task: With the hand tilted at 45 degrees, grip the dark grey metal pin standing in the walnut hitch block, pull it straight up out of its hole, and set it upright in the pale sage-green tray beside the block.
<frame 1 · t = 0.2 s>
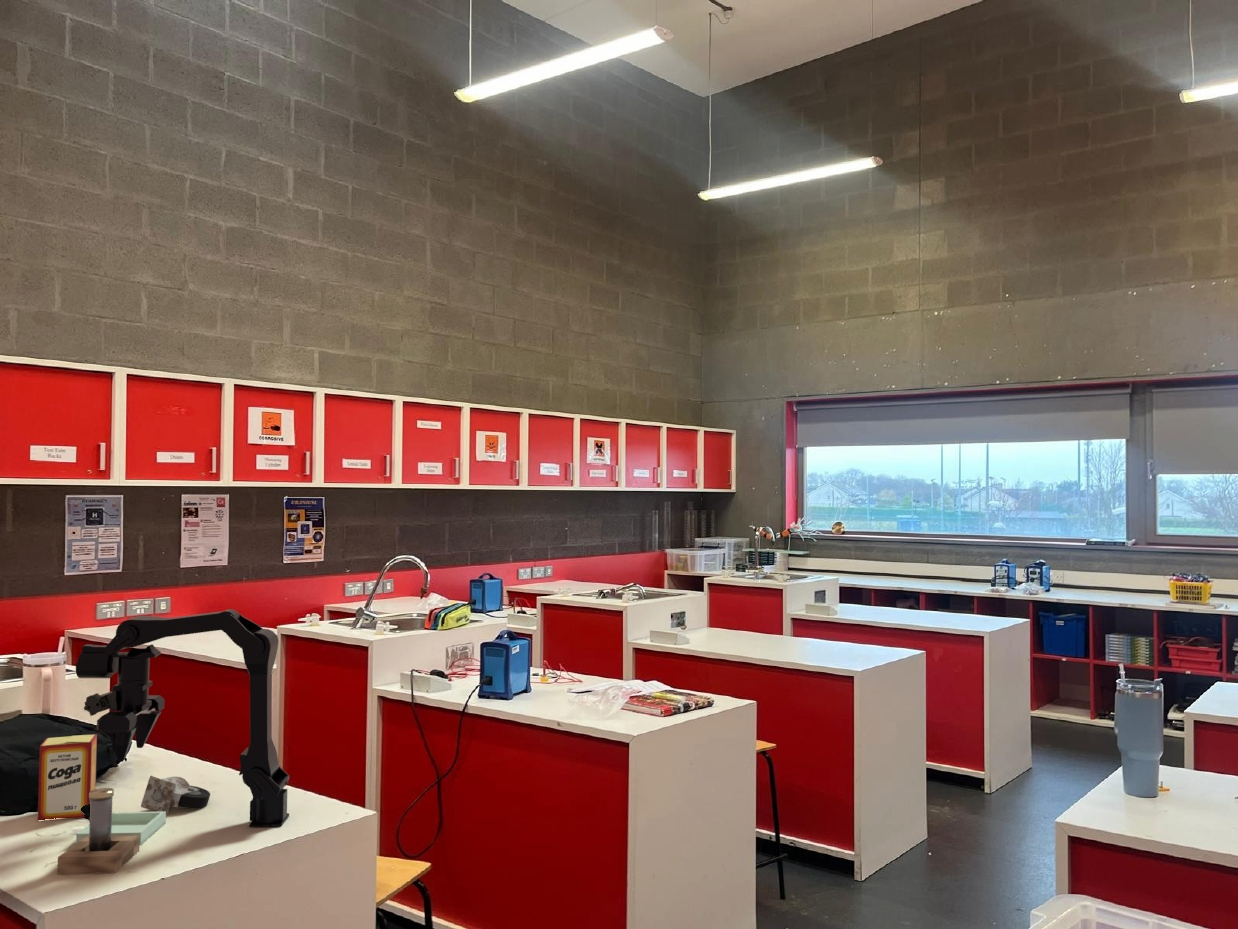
hand: (130, 754, 191), 15 cm above the counter, tool pointing down, fingers open, 9 cm apart
baking soda box: (66, 815, 197), on the counter
tray: (122, 835, 185), on the counter
caster wheel: (179, 808, 202), on the counter
pin: (100, 826, 172), in the hitch block
hitch block: (99, 862, 171), on the counter
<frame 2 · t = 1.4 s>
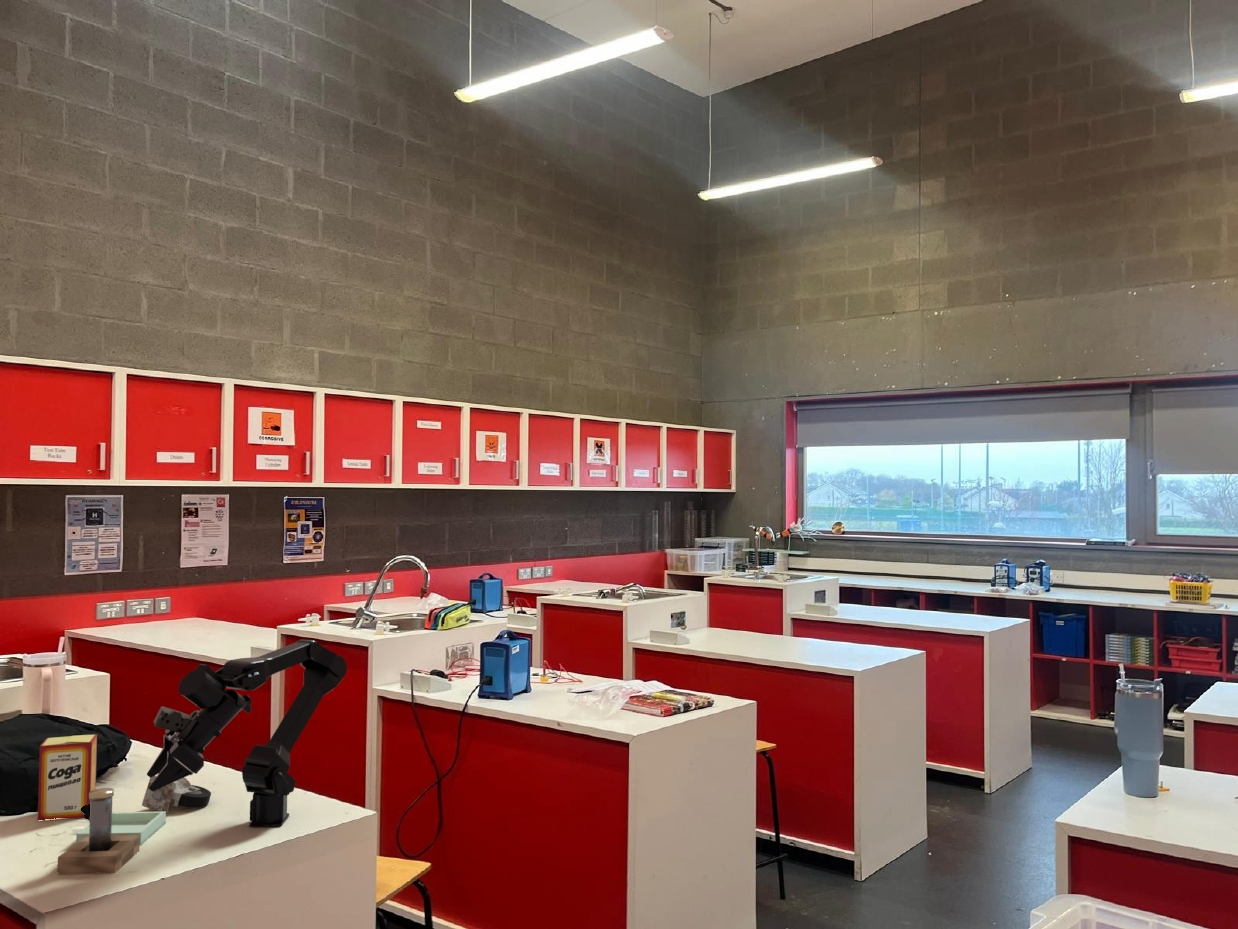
hand: (149, 783, 176), 13 cm above the counter, tool tilted 45°, fingers open, 9 cm apart
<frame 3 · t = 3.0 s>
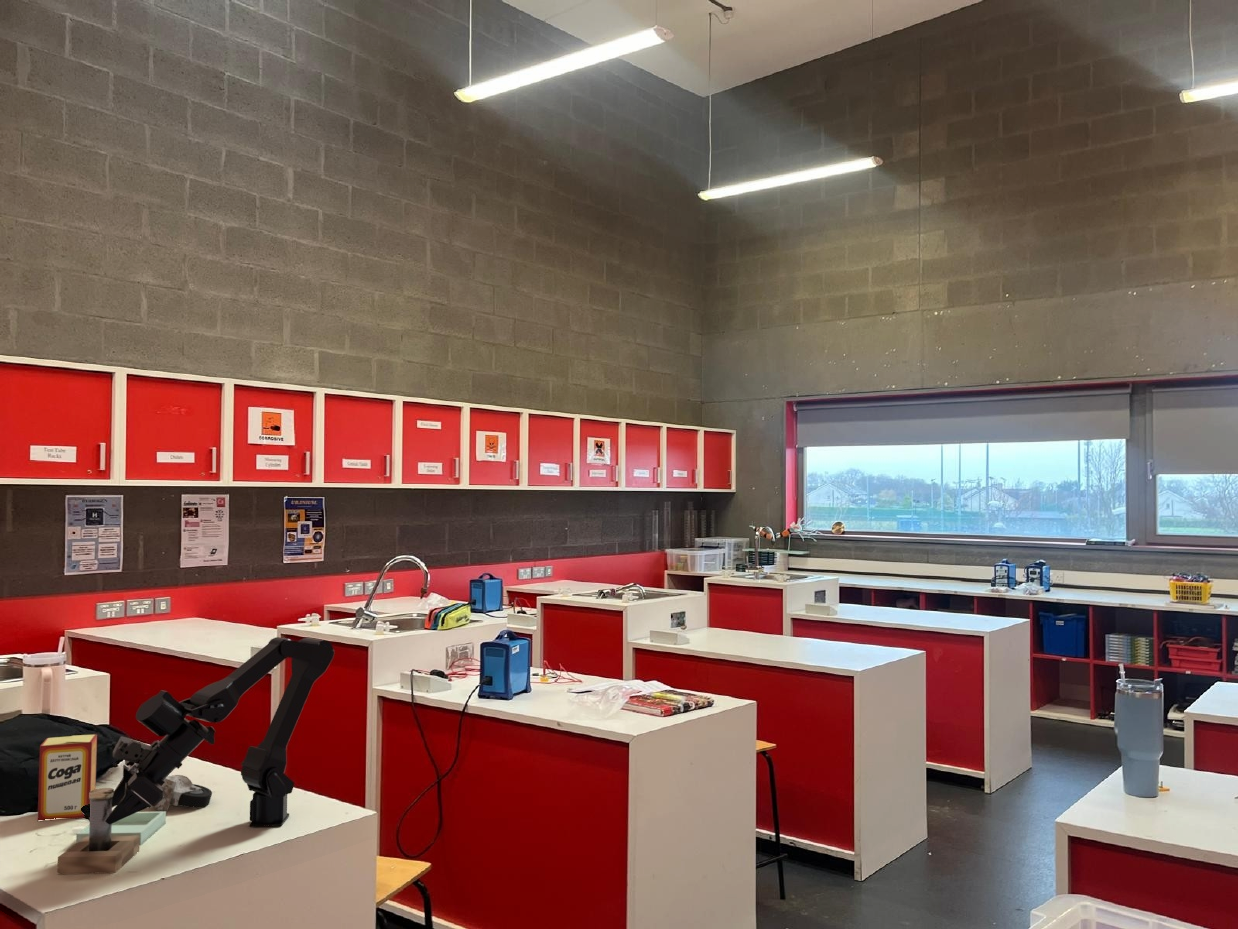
hand: (106, 815, 172), 9 cm above the counter, tool tilted 45°, fingers open, 9 cm apart
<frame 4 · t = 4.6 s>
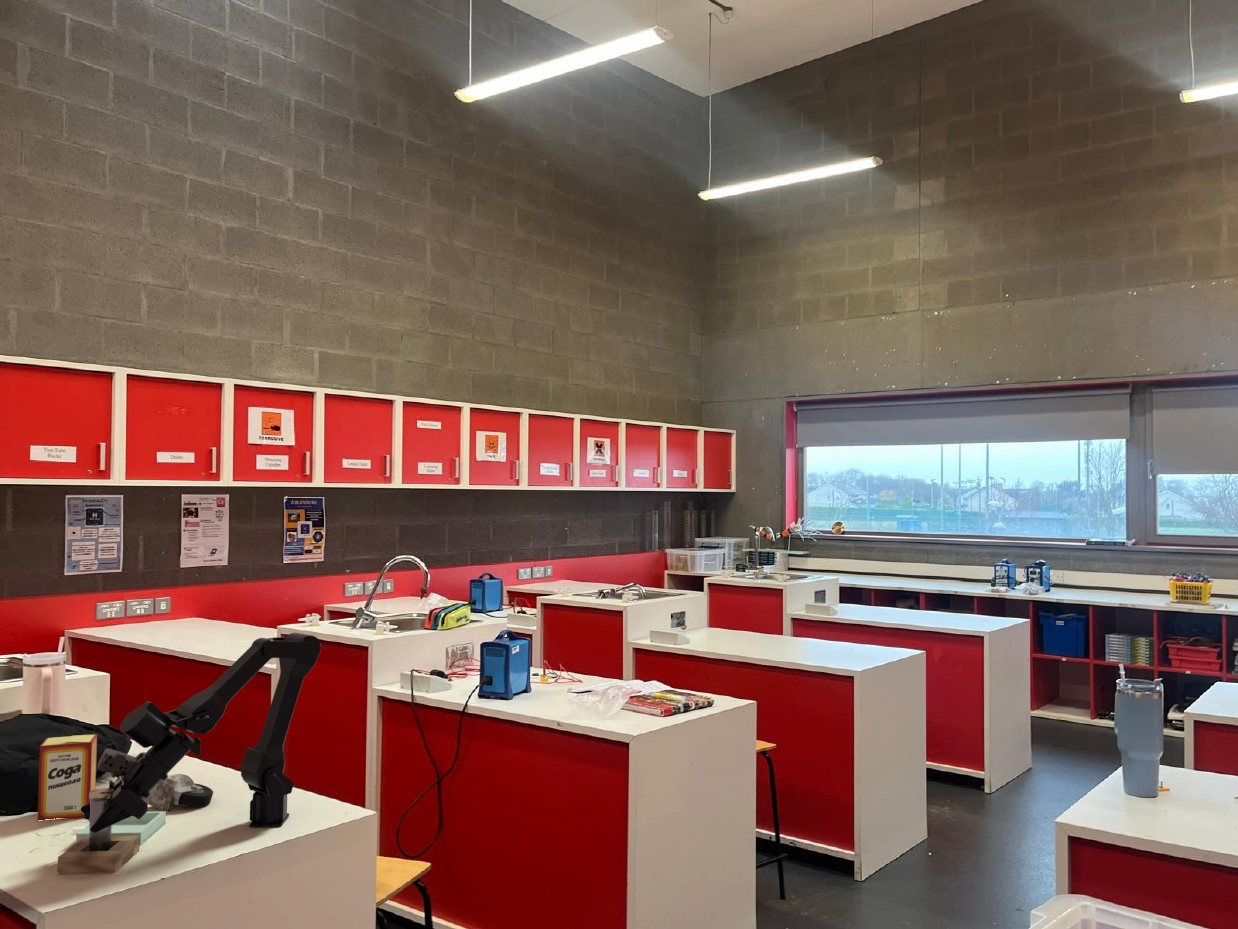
hand: (91, 828, 171), 7 cm above the counter, tool tilted 45°, fingers closed on pin, 4 cm apart
pin: (100, 826, 172), in the hitch block, touching gripper
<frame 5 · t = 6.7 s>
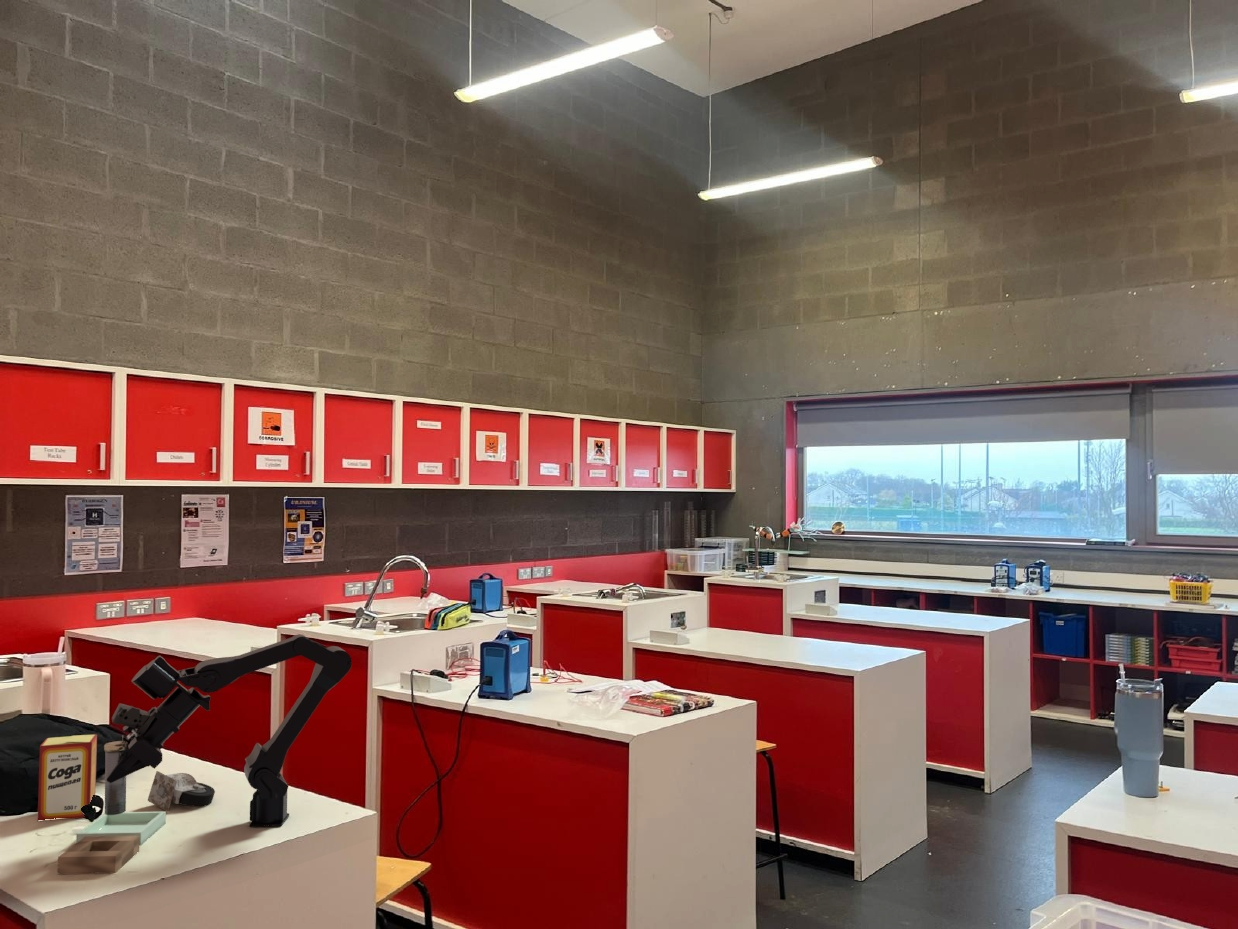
hand: (107, 778, 179), 13 cm above the counter, tool tilted 45°, fingers closed on pin, 4 cm apart
pin: (115, 777, 180), point 13 cm above the counter, touching gripper
when the fingers open (8 cm above the counter, at t = 9.1 s): pin stays where it is, resting on tray.
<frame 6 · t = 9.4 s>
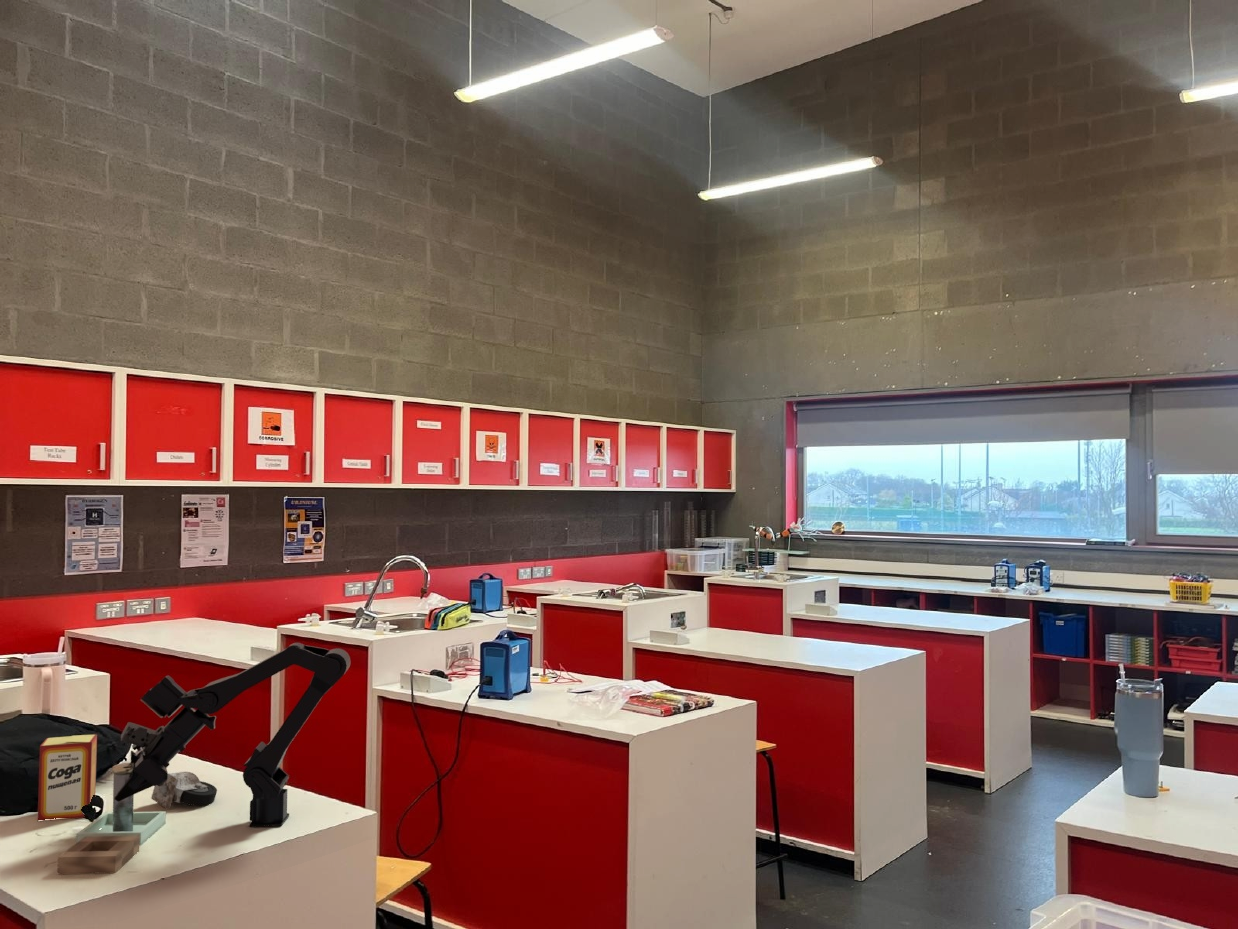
hand: (115, 795, 185), 8 cm above the counter, tool tilted 45°, fingers open, 6 cm apart
pin: (123, 798, 185), in the tray, point 7 cm above the counter
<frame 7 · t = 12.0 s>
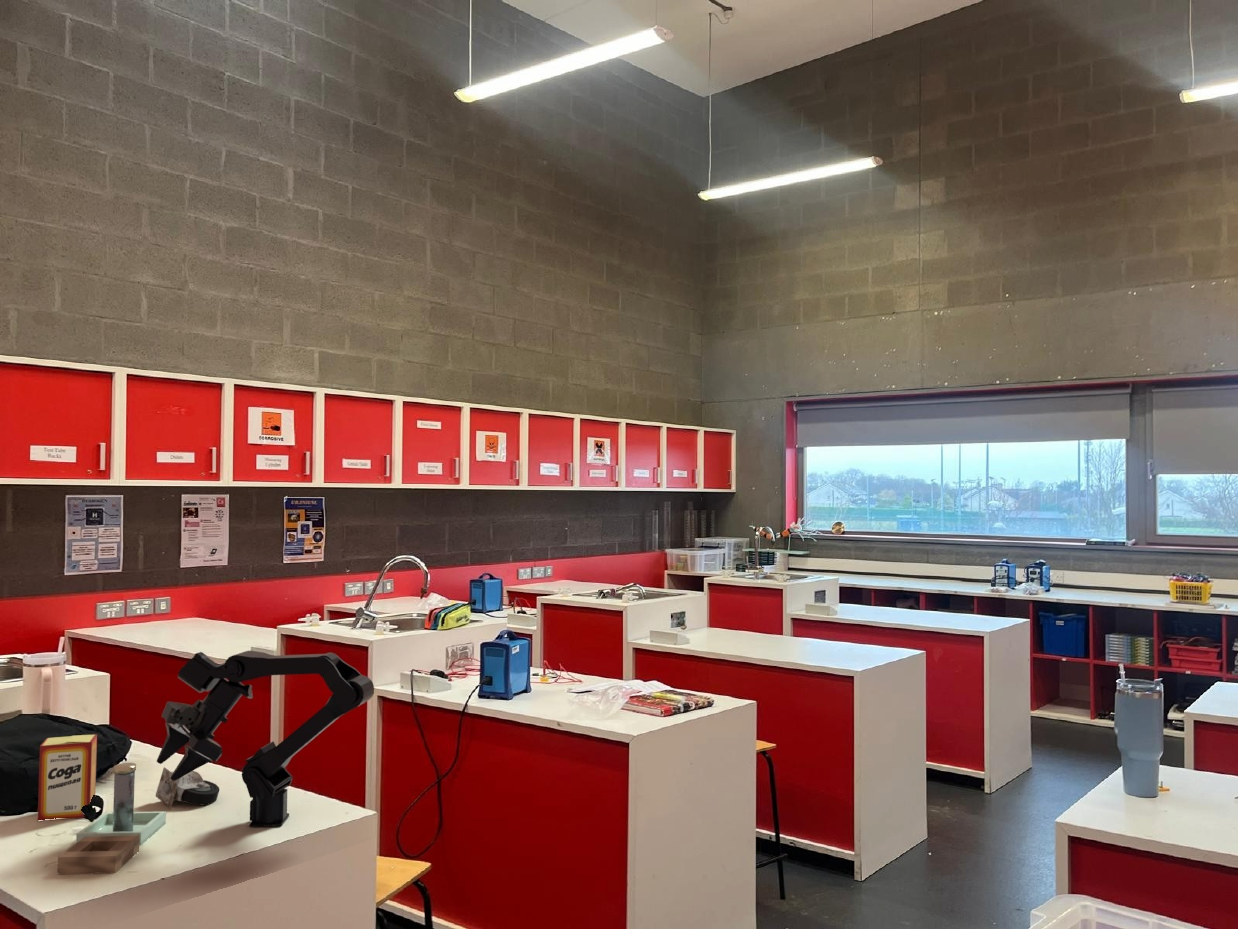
hand: (165, 771, 189), 12 cm above the counter, tool tilted 40°, fingers open, 9 cm apart
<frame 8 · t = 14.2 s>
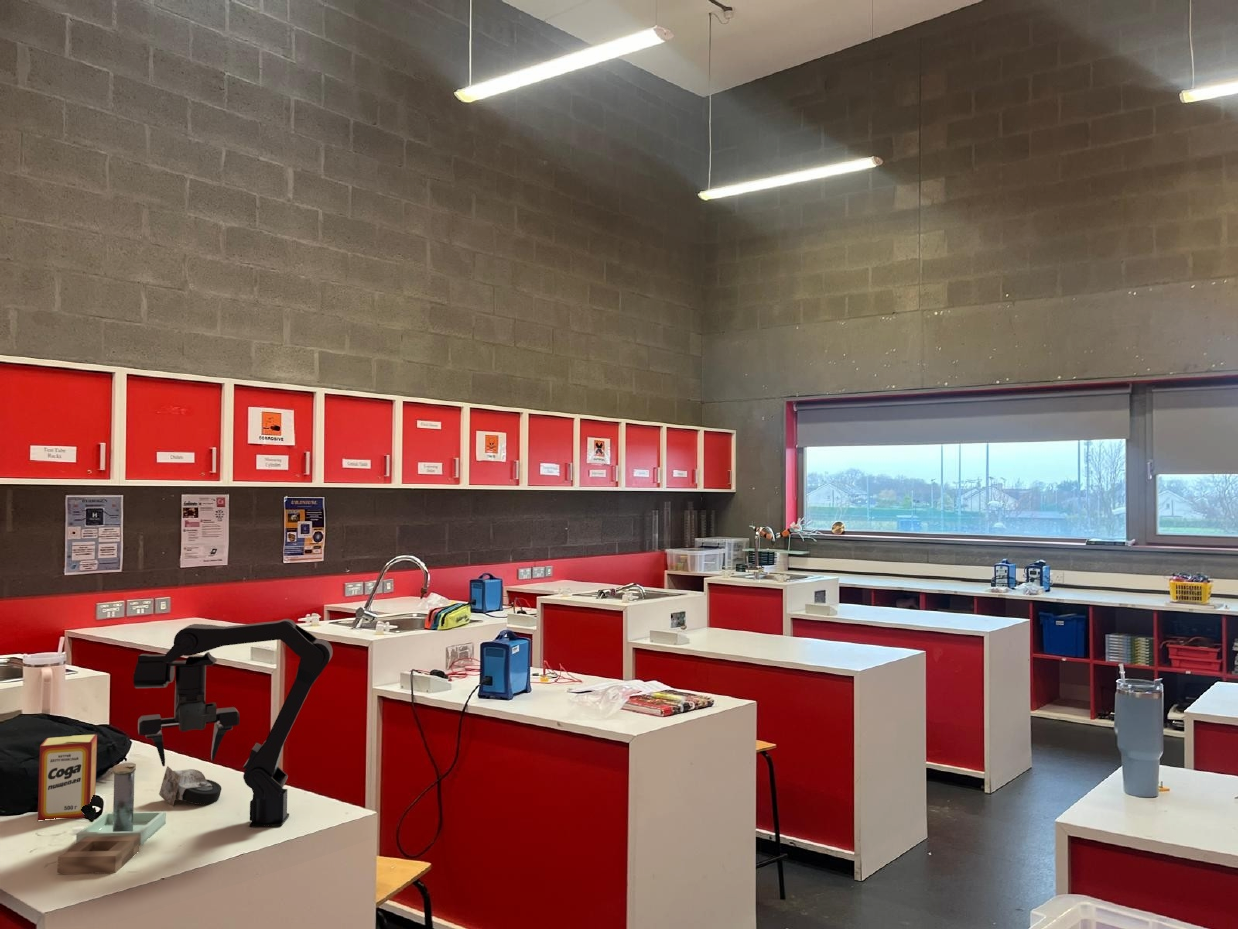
hand: (188, 763, 191), 13 cm above the counter, tool pointing down, fingers open, 9 cm apart
at the end: pin inside the target area on the tray (0.1 cm from its centre), point 7.2 cm above the tray's base; the gripper is holding nothing; pin tilted 0° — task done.
